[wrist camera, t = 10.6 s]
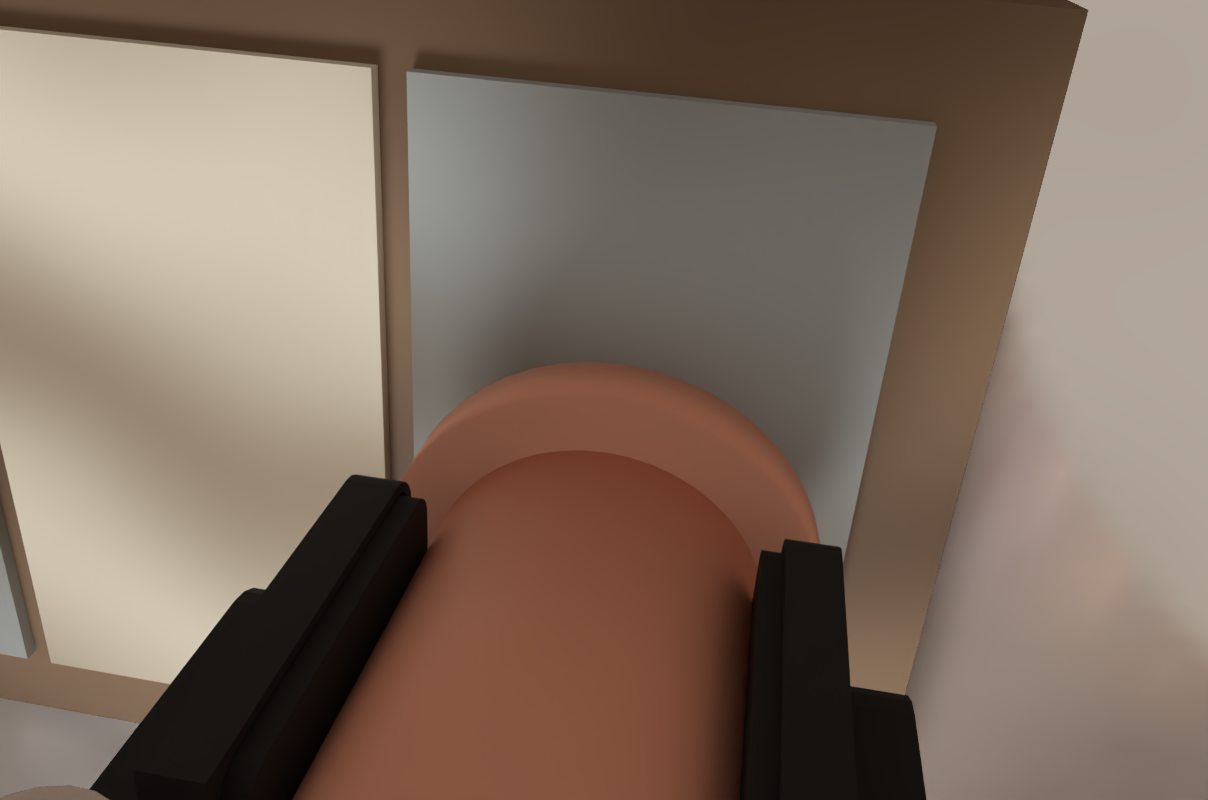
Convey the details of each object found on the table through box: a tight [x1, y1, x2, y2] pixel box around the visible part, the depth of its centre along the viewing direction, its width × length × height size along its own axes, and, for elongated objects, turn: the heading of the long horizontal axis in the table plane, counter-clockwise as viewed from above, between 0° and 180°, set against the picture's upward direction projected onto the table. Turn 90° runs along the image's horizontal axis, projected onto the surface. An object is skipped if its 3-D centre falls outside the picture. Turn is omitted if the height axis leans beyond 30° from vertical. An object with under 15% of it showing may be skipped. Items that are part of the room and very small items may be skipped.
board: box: [0, 0, 1088, 723], centre depth 15 cm, size 12×26×1 cm, turn 86°
